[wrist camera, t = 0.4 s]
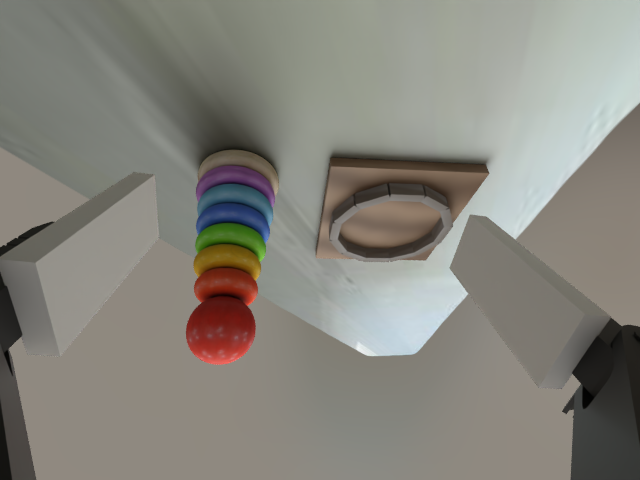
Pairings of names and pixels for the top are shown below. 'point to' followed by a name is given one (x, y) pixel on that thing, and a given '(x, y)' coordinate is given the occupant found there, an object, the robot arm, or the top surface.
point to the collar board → (392, 207)
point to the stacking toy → (229, 251)
